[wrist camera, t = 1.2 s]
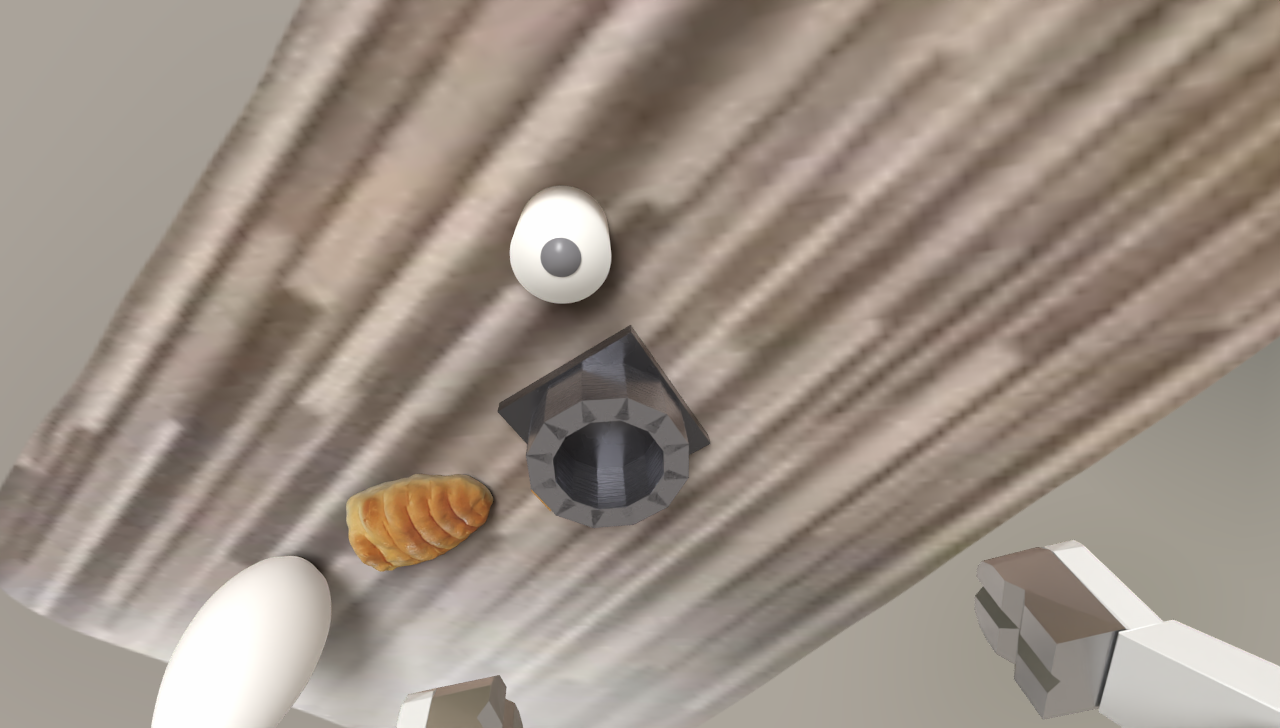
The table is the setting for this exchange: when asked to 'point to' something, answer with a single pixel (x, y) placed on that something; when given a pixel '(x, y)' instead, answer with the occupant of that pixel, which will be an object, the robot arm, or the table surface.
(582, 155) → the table surface
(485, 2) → the table surface
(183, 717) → the white air blower bulb
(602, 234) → the cylinder with grey knob
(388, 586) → the table surface
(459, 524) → the pastry
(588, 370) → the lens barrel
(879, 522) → the table surface
